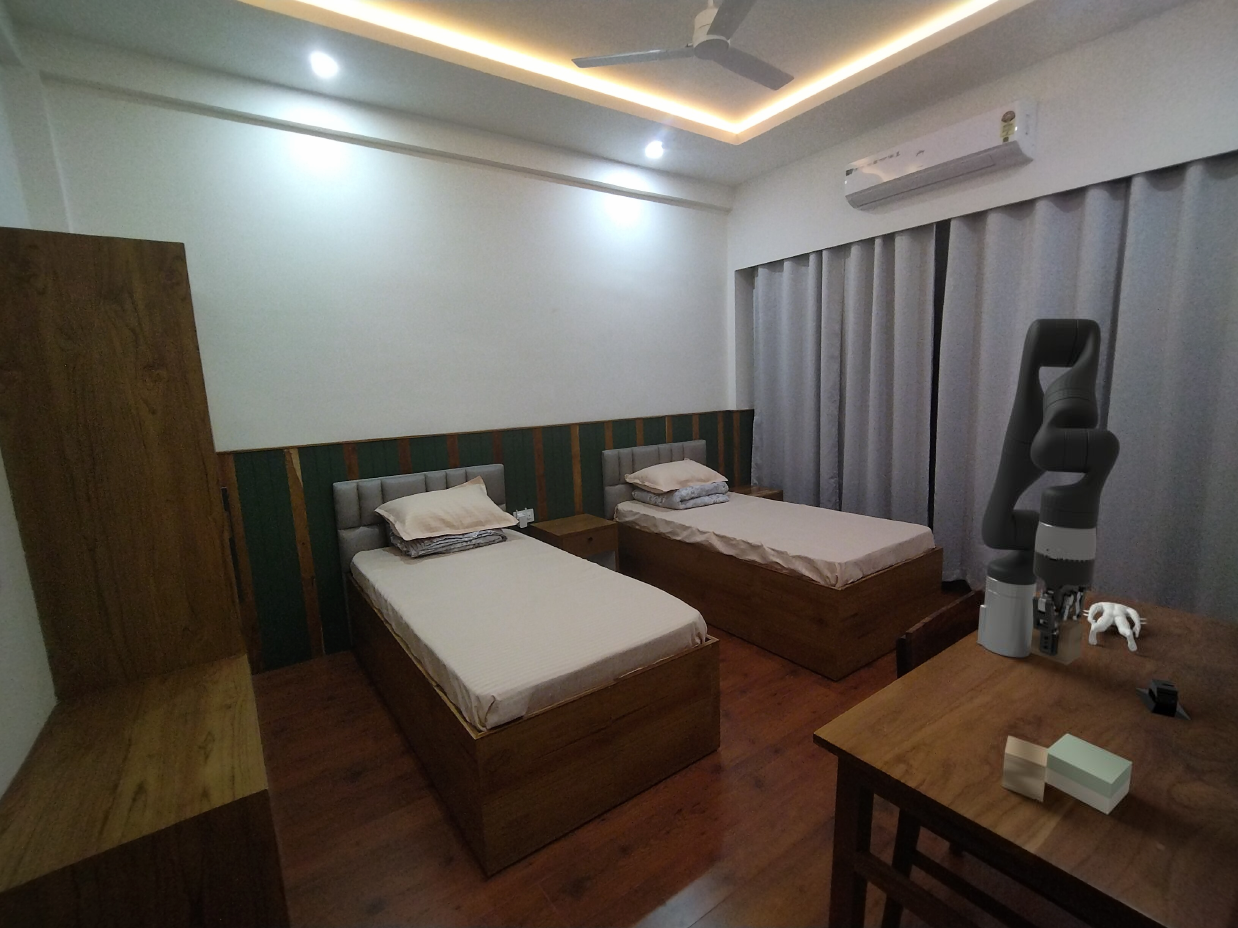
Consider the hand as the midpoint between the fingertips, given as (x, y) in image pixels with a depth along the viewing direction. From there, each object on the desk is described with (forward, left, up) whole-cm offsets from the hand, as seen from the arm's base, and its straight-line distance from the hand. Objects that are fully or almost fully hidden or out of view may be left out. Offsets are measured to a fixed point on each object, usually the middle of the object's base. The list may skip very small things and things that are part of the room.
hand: (1055, 648), depth 88 cm
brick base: (+7, -5, -18) cm, 20 cm away
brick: (+2, -13, -18) cm, 22 cm away
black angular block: (+6, +32, -19) cm, 38 cm away
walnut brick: (0, 0, -1) cm, 1 cm away
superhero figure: (-10, +63, -19) cm, 66 cm away
